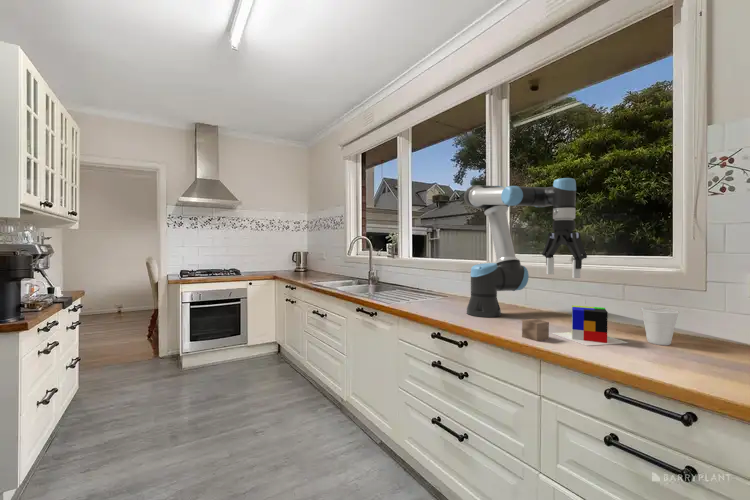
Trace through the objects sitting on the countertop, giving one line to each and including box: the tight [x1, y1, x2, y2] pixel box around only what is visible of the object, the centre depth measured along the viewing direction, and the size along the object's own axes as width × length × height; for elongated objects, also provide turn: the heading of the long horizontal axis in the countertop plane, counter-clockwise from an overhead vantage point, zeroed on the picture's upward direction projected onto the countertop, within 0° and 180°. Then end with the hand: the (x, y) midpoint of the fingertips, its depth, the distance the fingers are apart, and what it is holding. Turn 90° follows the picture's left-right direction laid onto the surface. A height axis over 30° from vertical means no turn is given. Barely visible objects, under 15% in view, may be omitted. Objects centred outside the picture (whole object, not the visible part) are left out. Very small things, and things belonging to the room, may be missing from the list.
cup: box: [640, 306, 680, 346], centre depth 118 cm, size 10×10×11 cm
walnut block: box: [521, 318, 550, 342], centre depth 124 cm, size 6×6×6 cm
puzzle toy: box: [571, 305, 608, 343], centre depth 124 cm, size 10×10×10 cm
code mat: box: [551, 331, 629, 347], centre depth 124 cm, size 16×16×1 cm
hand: (562, 276), depth 136 cm, fingers open, 13 cm apart
